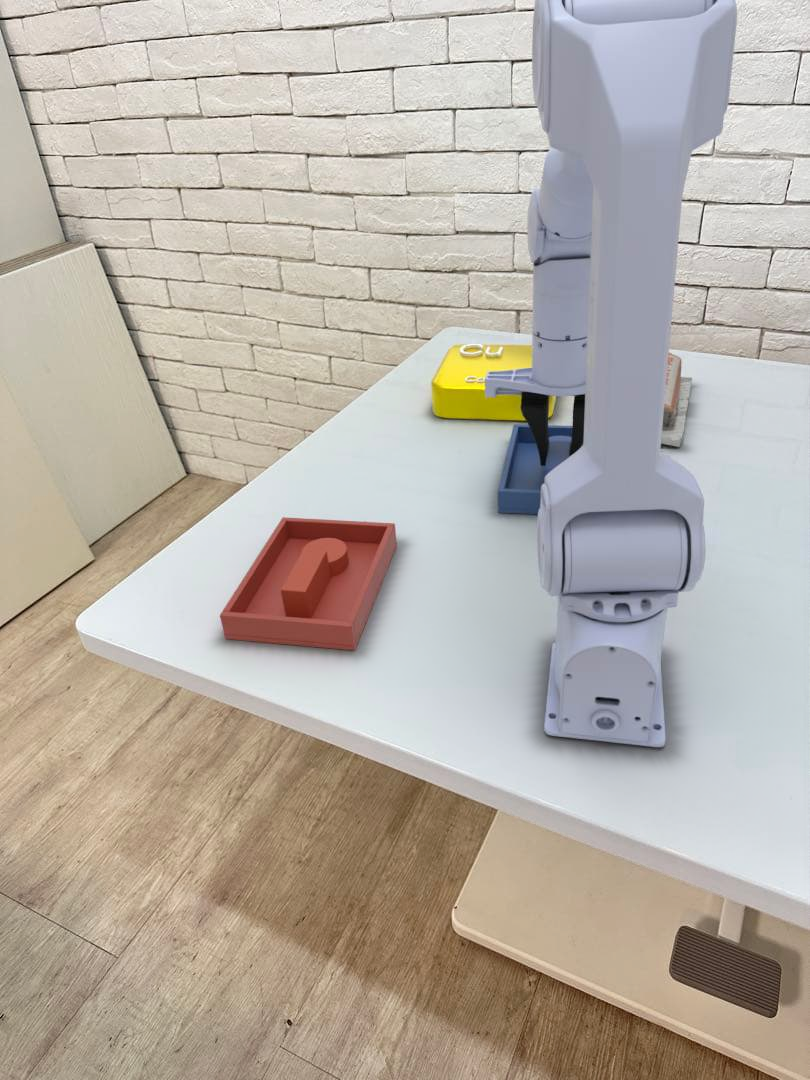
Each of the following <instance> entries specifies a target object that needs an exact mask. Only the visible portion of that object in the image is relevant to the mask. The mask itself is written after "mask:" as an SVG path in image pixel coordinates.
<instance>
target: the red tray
mask: <svg viewBox="0 0 810 1080" xmlns="http://www.w3.org/2000/svg"><path fill="white" fill-rule="evenodd" d="M321 538H335V539H339V540H341V541H343V542H344V543H345V544H346V546H347V552H348V559H349V564H348V566H347V568H346V569H345V570H344V571H343V572H341V573H339V574H337V575H335V576H331V579H330V581H329V583H328V585H327V587H326V589H325V591H324V593H323V595H322V597H321V599H320V601H319V603H318V605H317V607H316V609H315V611H314V613H313V615H312V617H311V619H309V618H297V617H286V615H285V610H284V605H283V600H282V595H281V588H282V586H283V585H284V583H285V581H286V579H287V578H288V576H289V574H290V572H291V571H292V569H293V567H294V565H295V564H296V562H297V560H298V558H299V556H300V555H301V551H302V549H303V547H304V546H305V545H306V544H308V543H310V542H311V541H314V540H317V539H321ZM397 546H398V542H397V532H396V523H394V522H377V521H376V522H375V521H356V520H342V519H341V520H339V519H322V518H321V519H320V518H302V517H284V516H283V517H282V518H281V519H280V521H279V522H278V524H277V526H276V527H275V529H273V532H272V533H271V535H270V537H269V538H267V541H266V542H265V544H264V546H263V547H262V549H261V550H260V552H259V553H258V555H257V556H256V558H255V559H254V561H253V562H252V564H251V566H250V567H249V569H248V571H247V572H246V574H245V575H244V576H243V579H242V580H241V582H240V583H239V584H238V586H237V587H236V589H235V590H234V592H233V593H232V596H231V597H230V598H229V600H228V602H227V603H226V605H225V606H224V608H223V609H222V611H221V612H220V614H219V618H220V622H221V627H222V630H223V634H224V638H225V640H227V639H228V640H235V641H245V642H246V641H247V642H256V643H267V644H268V643H269V644H277V645H278V644H279V645H290V646H300V647H302V646H303V647H311V648H322V649H334V650H342V651H343V650H344V651H356V649H357V646H358V643H359V641H360V638H361V636H362V633H363V631H364V628H365V626H366V624H367V621H368V618H369V616H370V614H371V611H372V608H373V606H374V604H375V601H376V598H377V596H378V594H379V591H380V588H381V586H382V585H383V584H382V583H383V581H384V579H385V576H386V573H387V571H388V569H389V566H390V564H391V561H392V559H393V556H394V554H395V551H396V549H397Z"/></svg>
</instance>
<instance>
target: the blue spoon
mask: <svg viewBox="0 0 810 1080" xmlns="http://www.w3.org/2000/svg"><path fill="white" fill-rule="evenodd" d="M571 439H572V437H569V436H552V437H549V445H548V451H547V458H546V465H545V476H546V475H547V474H548V473H549V472H550V471H551V470H553V469H554V468H555V467H557V466H558V465H559V464H561V463H562V462H563V461H565V460H566V459H567V458H569V457H570V447H571ZM544 483H545V482H544Z"/></svg>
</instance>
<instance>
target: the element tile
mask: <svg viewBox="0 0 810 1080" xmlns="http://www.w3.org/2000/svg"><path fill="white" fill-rule="evenodd" d="M530 367H532V344H480V343H469V344H468V343H467V344H463V343H462V344H461V343H460V344H455V345H452V346H451V347H450V348H449V349H448V350H447V351H446V354H445V355H444V357H443V359H442V361H441V363H440V364H439V366H438V368H437V370H436V372H435V374H434V376H433V378H432V380H431V383H430V387H431V388H430V390H431V403H432V412H433V414H434V415H435V416H436V417H438V418H442V419H453V420H454V419H457V420H460V419H461V420H485V421H487V420H489V421H517V422H518V421H519V422H527V421H526V420H525V418H524V417H523V414H522V412H521V407H520V406H521V397H522V395H497V396H496V397H485V377H486V374H487V372H488V371H505V370H514V369H522V368H530ZM556 400H557V396H549V412H548V419H549V418H551V417H552V416H553V414H554V410H555V405H556Z"/></svg>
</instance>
